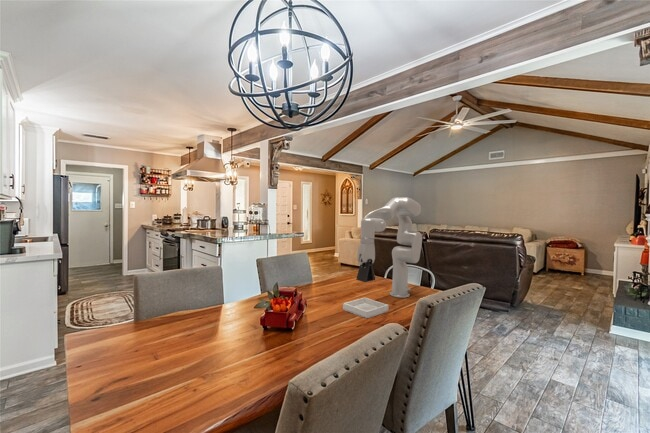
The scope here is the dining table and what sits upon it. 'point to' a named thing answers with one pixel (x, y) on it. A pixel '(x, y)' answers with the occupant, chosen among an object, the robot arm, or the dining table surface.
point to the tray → (365, 307)
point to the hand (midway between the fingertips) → (366, 274)
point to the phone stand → (366, 273)
